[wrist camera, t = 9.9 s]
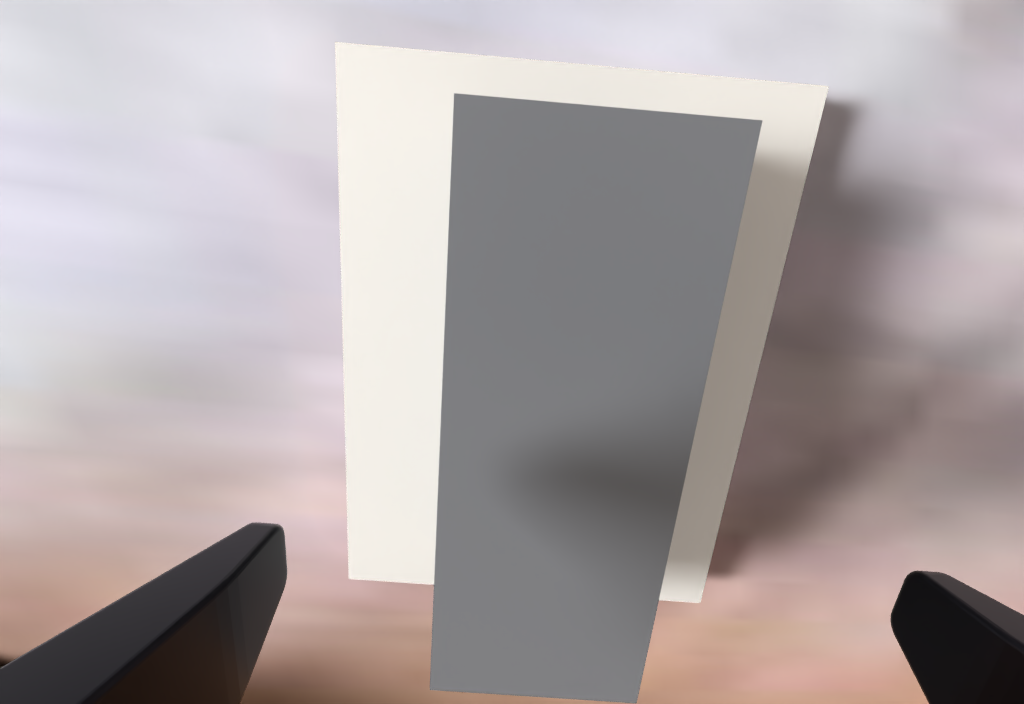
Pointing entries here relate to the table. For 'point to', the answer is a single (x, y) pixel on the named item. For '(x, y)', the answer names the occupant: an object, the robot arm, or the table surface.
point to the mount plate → (423, 272)
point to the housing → (573, 382)
